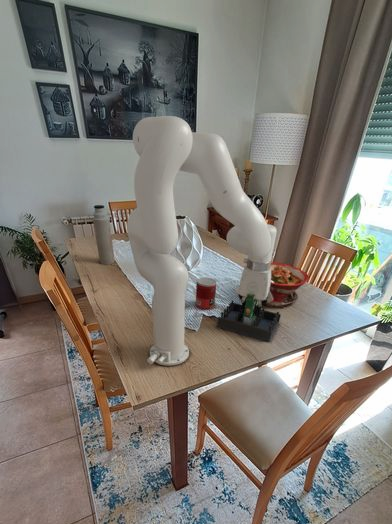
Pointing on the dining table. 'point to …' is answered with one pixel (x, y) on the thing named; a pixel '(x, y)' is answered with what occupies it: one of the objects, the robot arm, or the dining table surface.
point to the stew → (285, 284)
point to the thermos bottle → (103, 235)
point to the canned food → (205, 293)
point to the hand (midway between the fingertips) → (250, 312)
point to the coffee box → (250, 309)
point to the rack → (258, 329)
